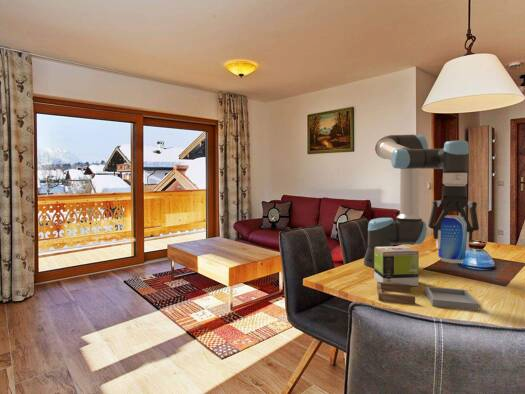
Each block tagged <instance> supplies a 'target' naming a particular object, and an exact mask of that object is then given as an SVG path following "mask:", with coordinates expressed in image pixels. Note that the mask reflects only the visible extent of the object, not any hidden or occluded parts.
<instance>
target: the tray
mask: <svg viewBox="0 0 525 394" xmlns="http://www.w3.org/2000/svg"><path fill="white" fill-rule="evenodd" d="M424 286H425V290H424V293H425V295H426V296H427V298H428V300H429V302H430V304H431V306H432V307H437V308H446V309H447V308H448V309H457V310H467V311H477V312H479V310H480V307H479V306H480V304H479V302H478V301H477V300H476V299H475V298H474V297H473V295H472V294H471V293H470V292H469V291H468V290H467V289H464V288H463V289H462V288H461V289H459V288H452V287H451V288H450V287H439V286H438V287H436V286H430V285H429V286H427V285H424Z"/></svg>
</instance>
